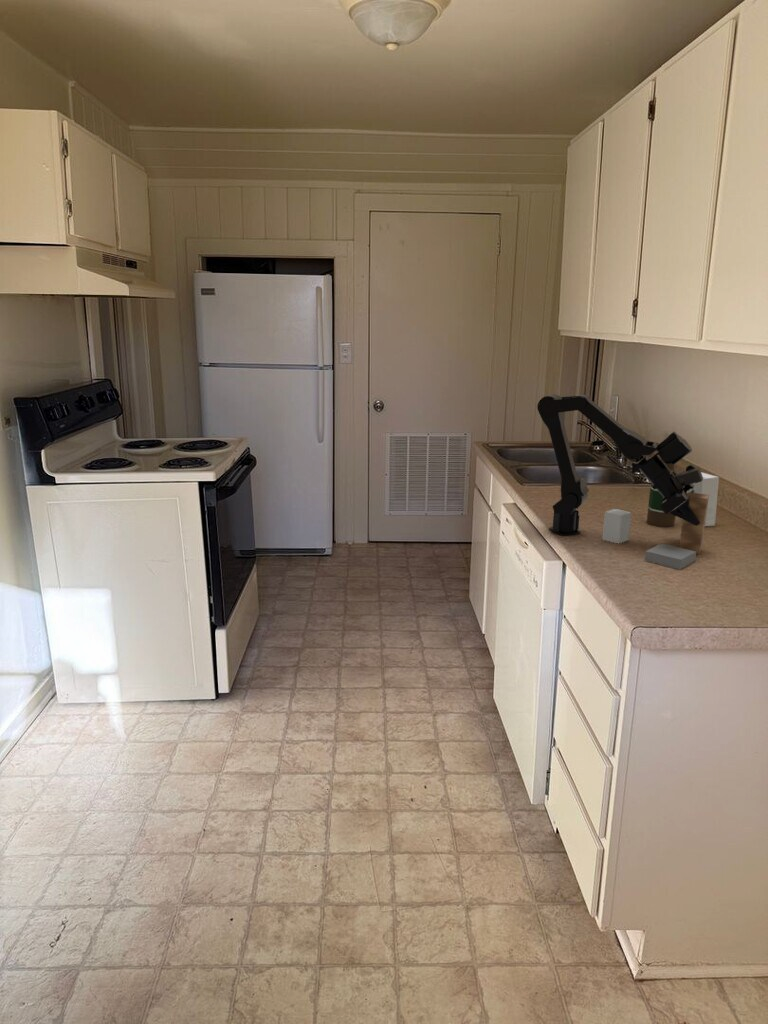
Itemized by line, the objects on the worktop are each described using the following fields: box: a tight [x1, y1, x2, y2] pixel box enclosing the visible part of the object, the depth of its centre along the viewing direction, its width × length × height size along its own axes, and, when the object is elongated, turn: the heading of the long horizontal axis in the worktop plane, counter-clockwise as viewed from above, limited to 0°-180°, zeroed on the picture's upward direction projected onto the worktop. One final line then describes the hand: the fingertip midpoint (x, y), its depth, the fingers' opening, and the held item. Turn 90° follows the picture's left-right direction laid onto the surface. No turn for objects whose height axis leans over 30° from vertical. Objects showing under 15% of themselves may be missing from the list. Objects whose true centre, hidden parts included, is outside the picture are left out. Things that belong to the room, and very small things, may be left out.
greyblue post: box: [601, 508, 632, 545], centre depth 194 cm, size 5×5×8 cm
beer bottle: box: [646, 458, 676, 528], centre depth 207 cm, size 8×8×24 cm
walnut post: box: [678, 492, 709, 555], centre depth 184 cm, size 5×5×15 cm
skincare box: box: [681, 471, 720, 527], centre depth 209 cm, size 8×6×15 cm
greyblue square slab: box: [644, 543, 697, 570], centre depth 178 cm, size 9×9×3 cm
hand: (699, 521), depth 183 cm, fingers open, 6 cm apart
